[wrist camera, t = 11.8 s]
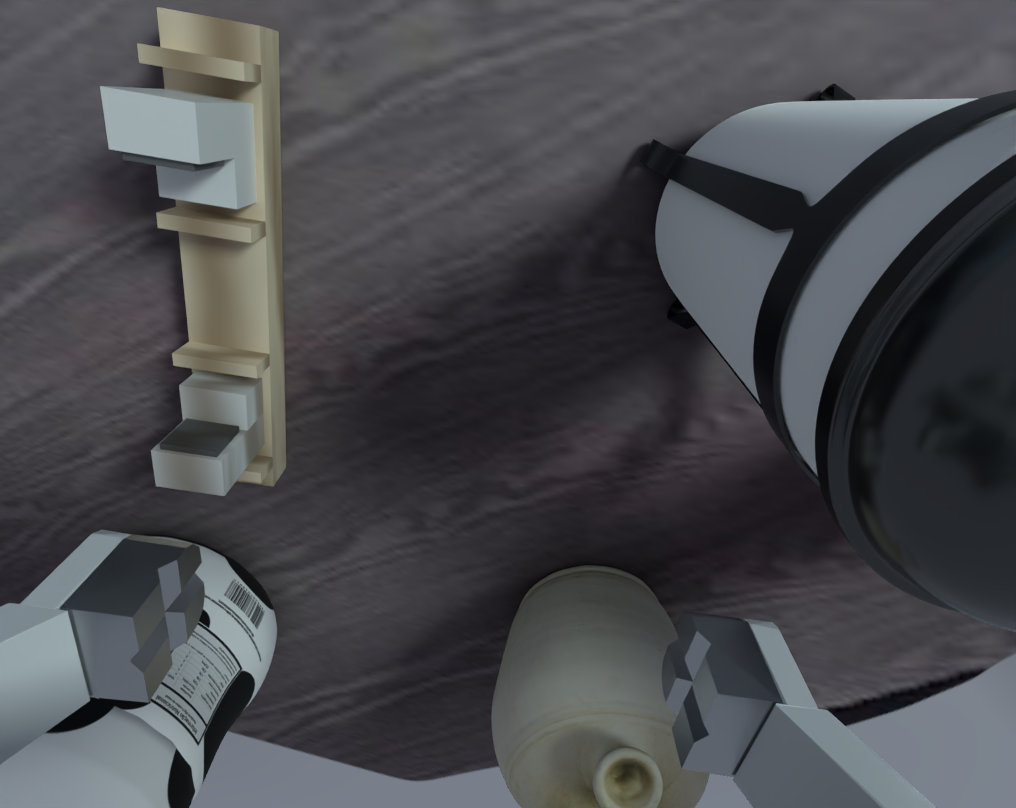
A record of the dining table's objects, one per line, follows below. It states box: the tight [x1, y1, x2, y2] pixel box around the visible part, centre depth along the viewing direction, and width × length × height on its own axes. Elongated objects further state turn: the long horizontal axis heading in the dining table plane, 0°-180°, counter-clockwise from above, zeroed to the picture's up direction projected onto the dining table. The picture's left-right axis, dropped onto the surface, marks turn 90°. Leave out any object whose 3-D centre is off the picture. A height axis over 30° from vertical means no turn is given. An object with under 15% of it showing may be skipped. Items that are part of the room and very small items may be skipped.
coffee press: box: [640, 84, 1016, 632], centre depth 22 cm, size 17×16×30 cm
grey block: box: [100, 86, 257, 209], centre depth 29 cm, size 4×5×6 cm
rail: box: [137, 7, 286, 496], centre depth 34 cm, size 5×28×8 cm, turn 171°
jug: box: [491, 565, 709, 808], centre depth 39 cm, size 15×16×25 cm
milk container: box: [0, 535, 277, 808], centre depth 42 cm, size 17×17×18 cm
